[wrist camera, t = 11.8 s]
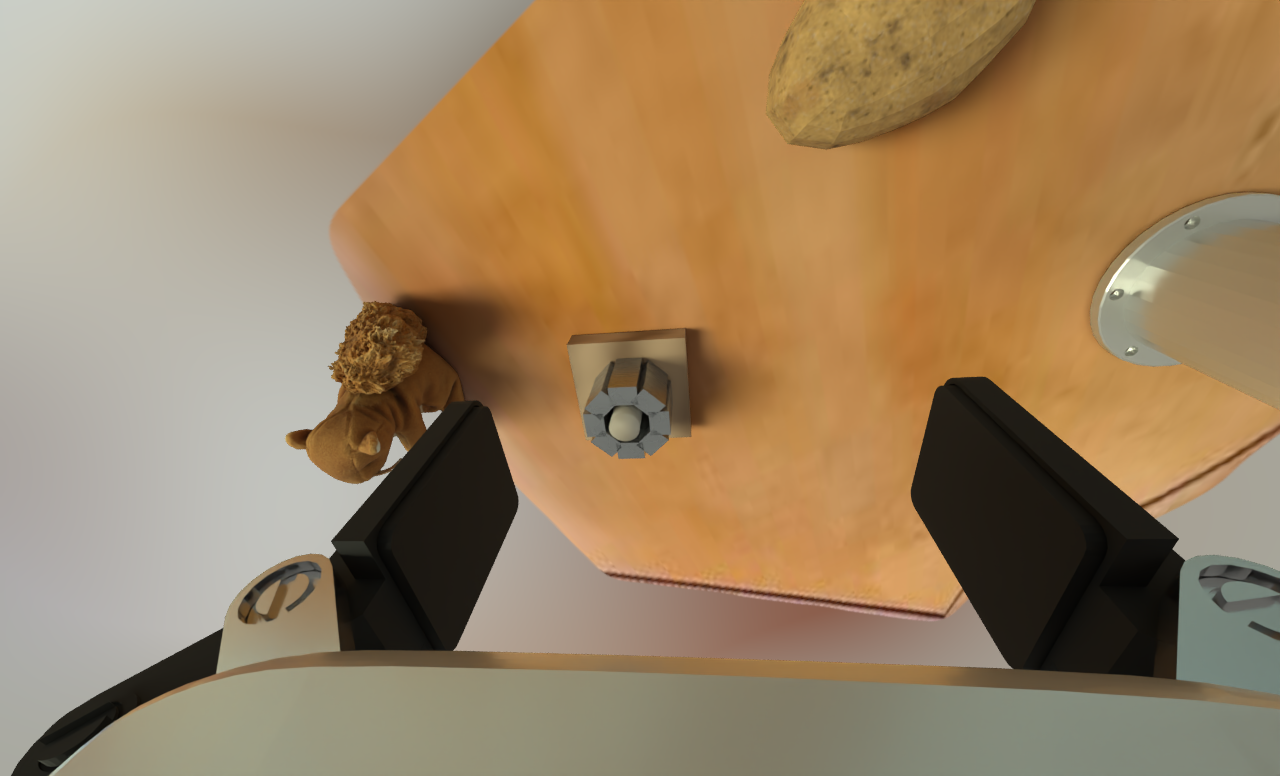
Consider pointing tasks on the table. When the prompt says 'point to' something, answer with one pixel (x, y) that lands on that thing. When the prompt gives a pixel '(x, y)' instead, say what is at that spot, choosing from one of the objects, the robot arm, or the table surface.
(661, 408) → the hub
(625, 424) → the shaft stand
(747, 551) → the table surface
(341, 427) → the stuffed squirrel
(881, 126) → the potato
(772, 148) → the table surface
